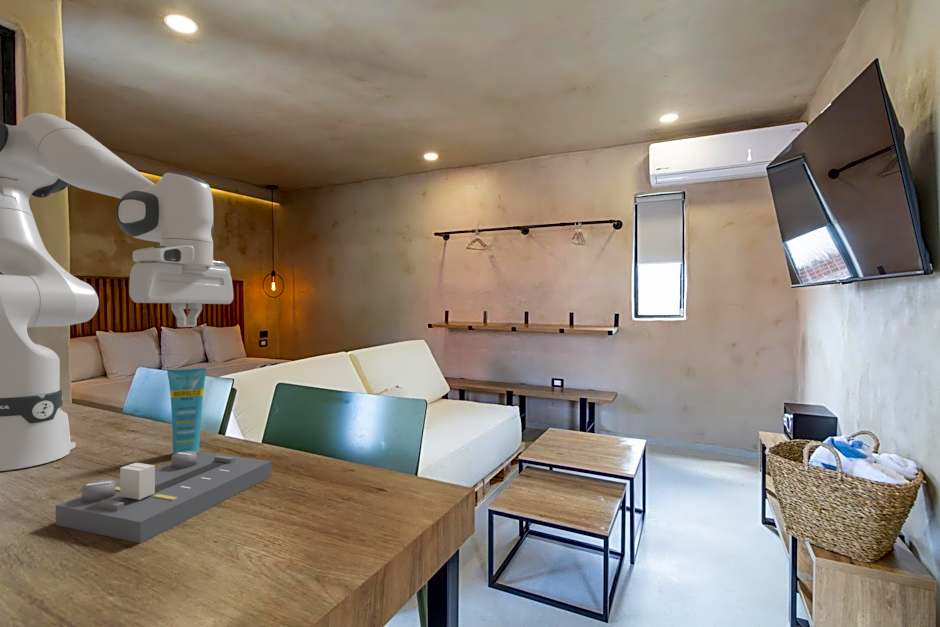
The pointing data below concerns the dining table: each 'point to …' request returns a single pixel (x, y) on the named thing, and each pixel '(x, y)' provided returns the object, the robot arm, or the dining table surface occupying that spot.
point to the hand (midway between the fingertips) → (186, 326)
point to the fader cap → (137, 480)
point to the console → (162, 496)
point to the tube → (186, 407)
